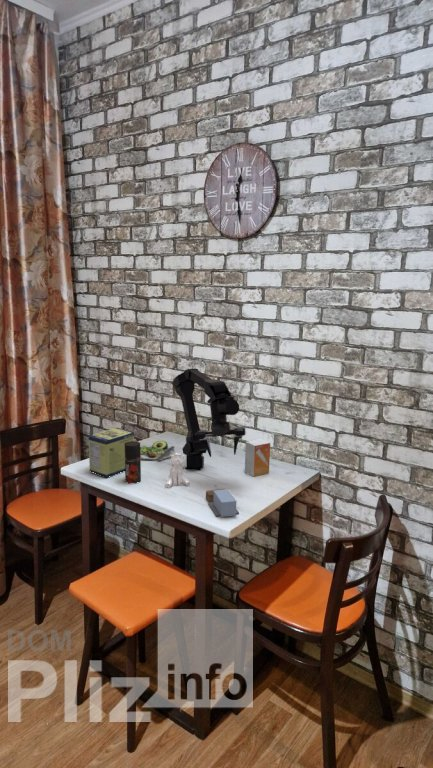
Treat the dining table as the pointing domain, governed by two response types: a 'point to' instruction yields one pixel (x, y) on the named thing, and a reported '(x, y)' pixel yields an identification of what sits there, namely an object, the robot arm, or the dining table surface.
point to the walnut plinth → (210, 495)
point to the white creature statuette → (177, 472)
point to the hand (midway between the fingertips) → (222, 455)
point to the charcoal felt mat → (217, 510)
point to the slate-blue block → (224, 502)
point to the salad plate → (156, 451)
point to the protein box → (108, 451)
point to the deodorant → (132, 462)
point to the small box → (257, 457)
